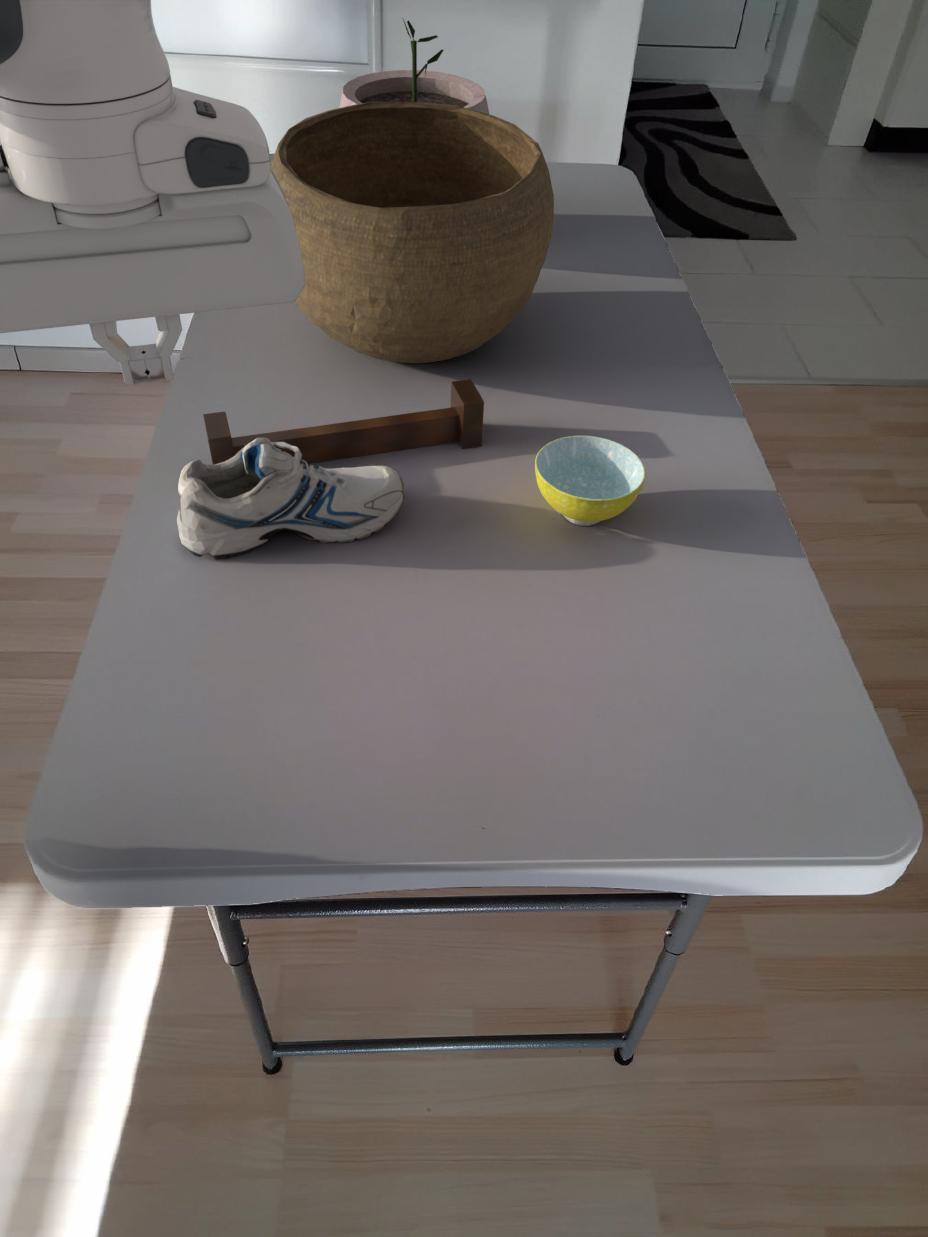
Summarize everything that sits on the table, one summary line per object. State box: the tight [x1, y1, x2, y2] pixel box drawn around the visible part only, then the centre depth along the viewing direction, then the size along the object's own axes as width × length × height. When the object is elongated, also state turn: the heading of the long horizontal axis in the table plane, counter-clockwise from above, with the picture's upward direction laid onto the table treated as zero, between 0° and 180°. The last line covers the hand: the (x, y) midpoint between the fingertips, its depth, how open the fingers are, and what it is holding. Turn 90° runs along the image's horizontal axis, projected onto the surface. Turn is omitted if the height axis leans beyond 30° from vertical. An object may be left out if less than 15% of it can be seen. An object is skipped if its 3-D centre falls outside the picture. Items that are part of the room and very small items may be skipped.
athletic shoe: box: [176, 438, 406, 559], centre depth 93 cm, size 10×23×12 cm, turn 115°
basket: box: [270, 101, 555, 364], centre depth 117 cm, size 35×35×25 cm
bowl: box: [534, 435, 647, 527], centre depth 97 cm, size 11×12×6 cm
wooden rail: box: [202, 378, 485, 465], centre depth 103 cm, size 30×5×6 cm, turn 107°
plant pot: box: [338, 18, 490, 115], centre depth 138 cm, size 24×24×30 cm
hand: (149, 378), depth 57 cm, fingers closed
